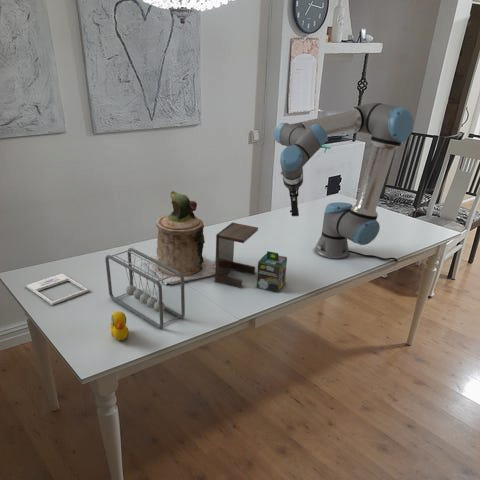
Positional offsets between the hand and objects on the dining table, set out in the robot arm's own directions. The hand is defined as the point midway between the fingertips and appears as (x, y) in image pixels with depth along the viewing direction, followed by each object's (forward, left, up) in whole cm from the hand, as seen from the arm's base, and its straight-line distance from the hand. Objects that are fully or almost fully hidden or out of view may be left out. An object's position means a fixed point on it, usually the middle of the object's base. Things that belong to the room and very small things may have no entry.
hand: (295, 200), depth 194 cm
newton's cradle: (+52, +51, -27) cm, 78 cm away
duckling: (+56, +70, -27) cm, 94 cm away
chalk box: (+8, +27, -27) cm, 39 cm away
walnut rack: (+23, +22, -27) cm, 41 cm away
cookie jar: (+45, +17, -27) cm, 56 cm away
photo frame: (+88, +42, -27) cm, 101 cm away
